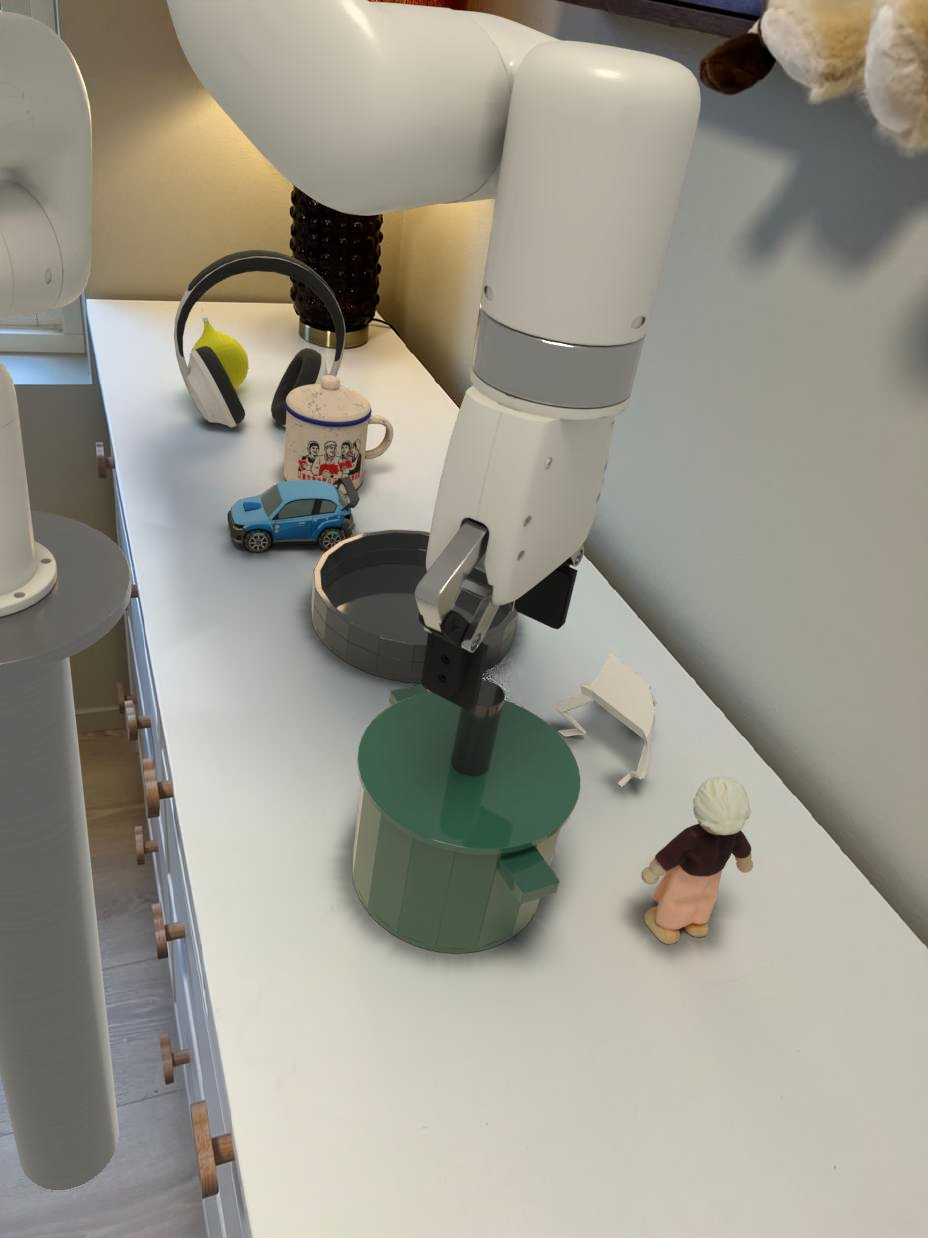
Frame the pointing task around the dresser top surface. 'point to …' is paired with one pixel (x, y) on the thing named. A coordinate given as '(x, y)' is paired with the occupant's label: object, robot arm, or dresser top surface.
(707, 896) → the grandmother figurine
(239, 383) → the yellow-green teardrop shape
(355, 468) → the teacup with lid
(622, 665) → the origami figure
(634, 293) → the robot arm
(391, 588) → the pan
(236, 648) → the dresser top surface
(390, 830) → the pot
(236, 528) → the toy car
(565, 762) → the lid
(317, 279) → the headphones
